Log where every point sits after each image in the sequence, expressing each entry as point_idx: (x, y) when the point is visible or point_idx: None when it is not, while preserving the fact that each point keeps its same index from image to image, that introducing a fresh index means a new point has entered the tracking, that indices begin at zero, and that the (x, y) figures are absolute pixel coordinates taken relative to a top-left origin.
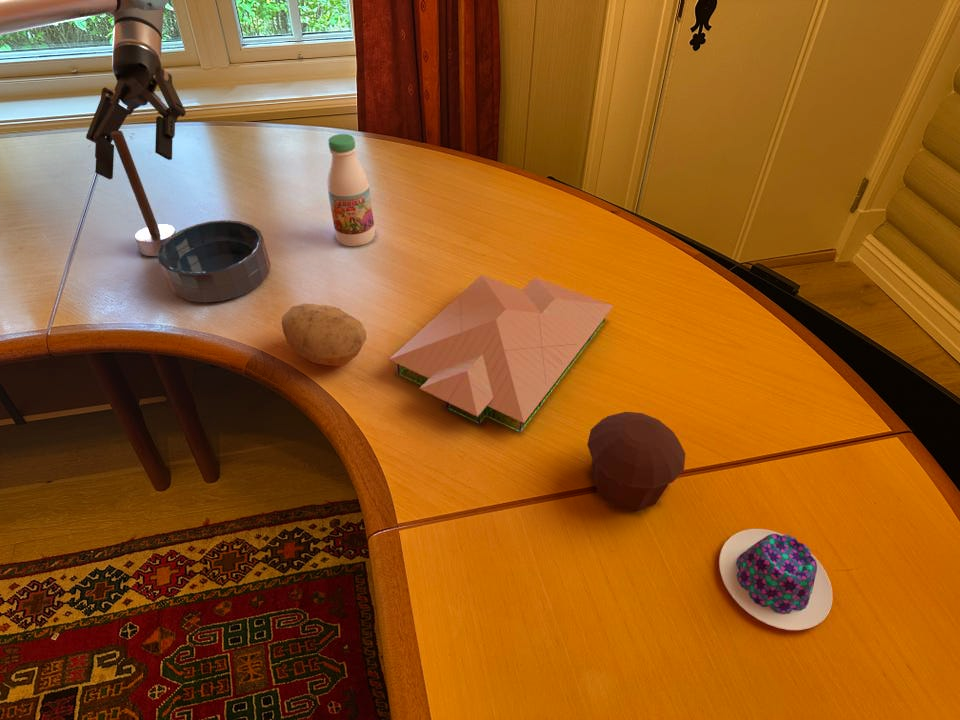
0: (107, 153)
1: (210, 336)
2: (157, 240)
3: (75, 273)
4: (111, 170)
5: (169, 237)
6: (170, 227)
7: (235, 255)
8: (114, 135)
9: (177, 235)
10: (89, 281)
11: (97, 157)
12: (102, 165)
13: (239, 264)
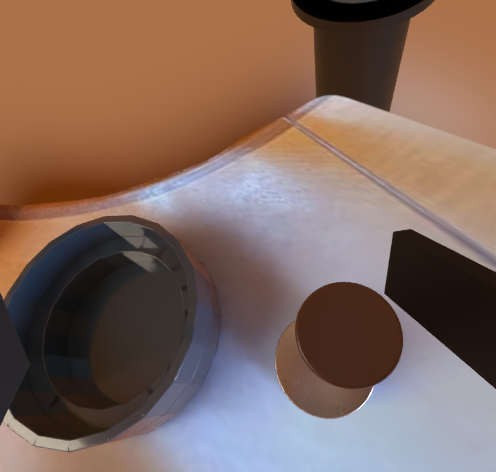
0: (488, 339)
1: (82, 209)
2: (285, 333)
3: (399, 215)
4: (410, 308)
5: (196, 300)
6: (311, 407)
7: (130, 396)
8: (322, 288)
9: (187, 319)
10: (349, 211)
11: (469, 265)
12: (420, 266)
13: (12, 286)
